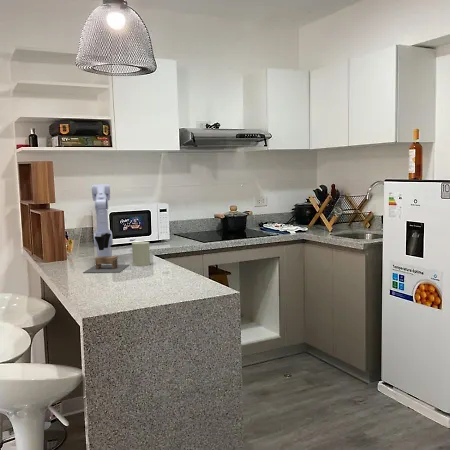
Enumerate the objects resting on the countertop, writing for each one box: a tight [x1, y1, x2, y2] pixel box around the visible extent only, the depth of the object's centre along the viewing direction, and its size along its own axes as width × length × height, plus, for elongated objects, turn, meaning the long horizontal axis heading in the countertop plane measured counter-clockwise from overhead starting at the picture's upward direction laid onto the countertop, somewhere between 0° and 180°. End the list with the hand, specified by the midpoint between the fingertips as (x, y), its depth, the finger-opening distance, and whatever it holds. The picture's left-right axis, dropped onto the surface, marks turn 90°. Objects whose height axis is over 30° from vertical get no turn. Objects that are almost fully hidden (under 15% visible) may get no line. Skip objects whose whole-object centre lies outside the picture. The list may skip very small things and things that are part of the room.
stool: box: [94, 255, 119, 269], centre depth 257 cm, size 10×5×6 cm, turn 87°
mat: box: [82, 264, 130, 274], centre depth 257 cm, size 20×18×1 cm
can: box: [131, 241, 151, 267], centre depth 268 cm, size 9×9×12 cm
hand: (103, 249), depth 262 cm, fingers open, 7 cm apart
